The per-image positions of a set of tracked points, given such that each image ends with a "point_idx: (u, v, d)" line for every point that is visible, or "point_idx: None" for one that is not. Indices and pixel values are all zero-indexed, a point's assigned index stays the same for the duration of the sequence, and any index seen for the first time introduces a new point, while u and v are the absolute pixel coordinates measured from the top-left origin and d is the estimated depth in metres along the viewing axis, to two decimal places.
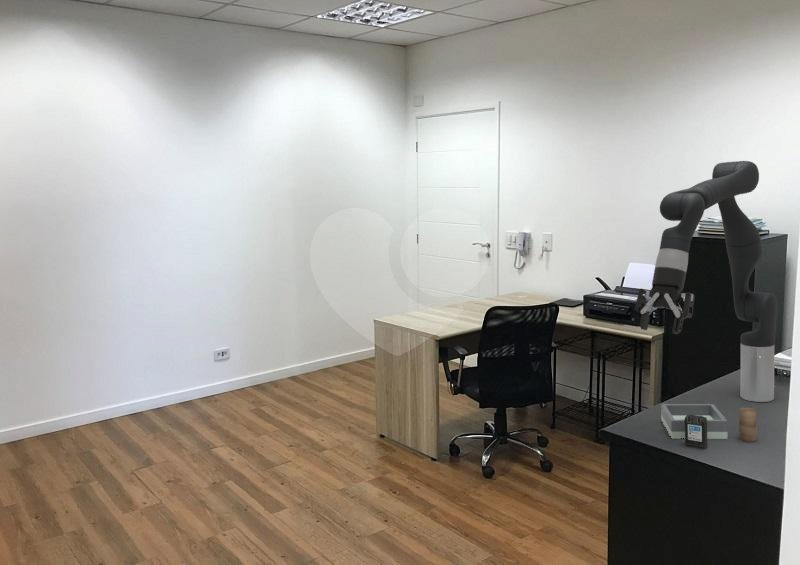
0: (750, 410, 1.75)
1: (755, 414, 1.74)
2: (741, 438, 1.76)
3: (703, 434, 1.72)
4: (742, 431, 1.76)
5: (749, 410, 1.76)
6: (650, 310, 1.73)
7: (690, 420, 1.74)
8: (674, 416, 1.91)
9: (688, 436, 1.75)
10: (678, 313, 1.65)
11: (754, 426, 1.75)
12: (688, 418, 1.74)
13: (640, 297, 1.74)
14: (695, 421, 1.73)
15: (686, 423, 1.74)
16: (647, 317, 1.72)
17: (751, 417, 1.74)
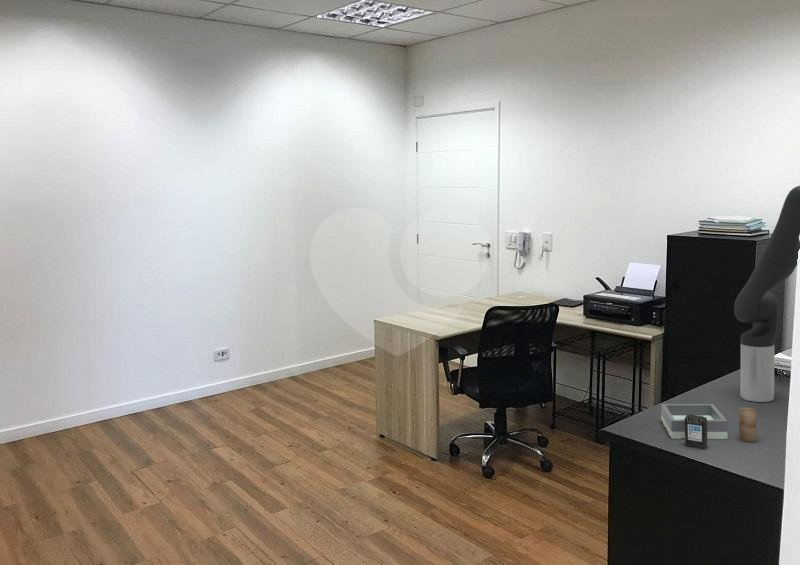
0: (750, 410, 1.75)
1: (755, 414, 1.74)
2: (741, 438, 1.76)
3: (703, 434, 1.72)
4: (742, 431, 1.76)
5: (749, 410, 1.76)
6: None
7: (690, 420, 1.74)
8: (674, 416, 1.91)
9: (688, 436, 1.75)
10: None
11: (754, 426, 1.75)
12: (688, 418, 1.74)
13: None
14: (695, 421, 1.73)
15: (686, 423, 1.74)
16: None
17: (751, 417, 1.74)
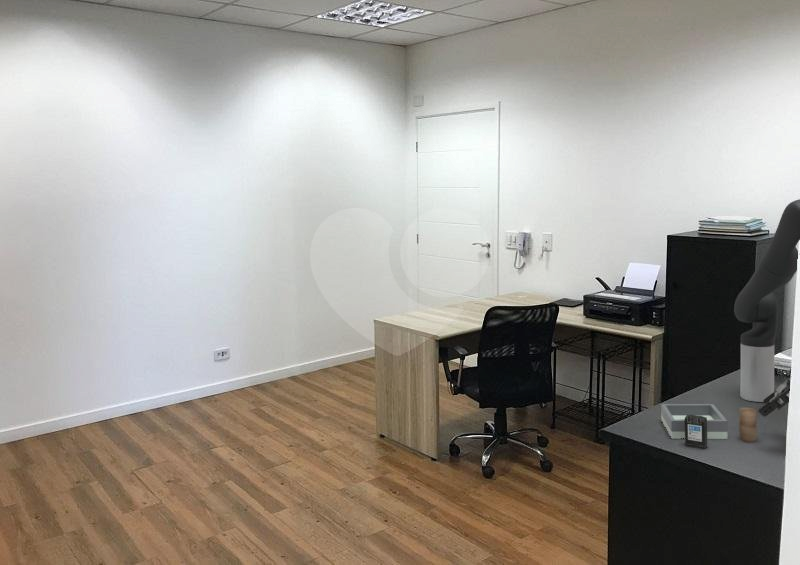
0: (750, 410, 1.75)
1: (755, 414, 1.74)
2: (741, 438, 1.76)
3: (703, 434, 1.72)
4: (742, 431, 1.76)
5: (749, 410, 1.76)
6: None
7: (690, 420, 1.74)
8: (674, 416, 1.91)
9: (688, 436, 1.75)
10: None
11: (754, 426, 1.75)
12: (688, 418, 1.74)
13: None
14: (695, 421, 1.73)
15: (686, 423, 1.74)
16: None
17: (751, 417, 1.74)
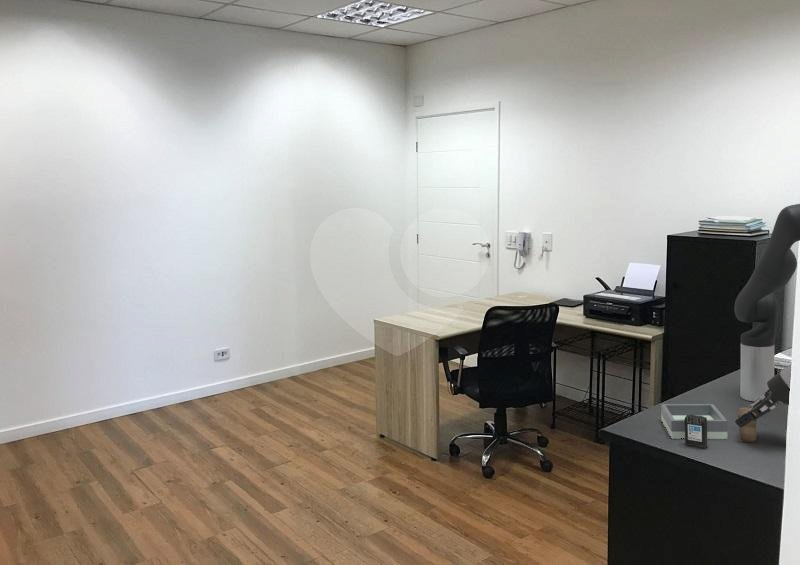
0: None
1: (755, 414, 1.74)
2: (741, 438, 1.76)
3: (703, 434, 1.72)
4: (742, 431, 1.76)
5: None
6: None
7: (689, 420, 1.74)
8: (674, 416, 1.91)
9: (688, 436, 1.75)
10: None
11: (754, 426, 1.75)
12: (688, 418, 1.74)
13: (764, 413, 1.69)
14: (695, 421, 1.73)
15: (686, 423, 1.74)
16: None
17: None
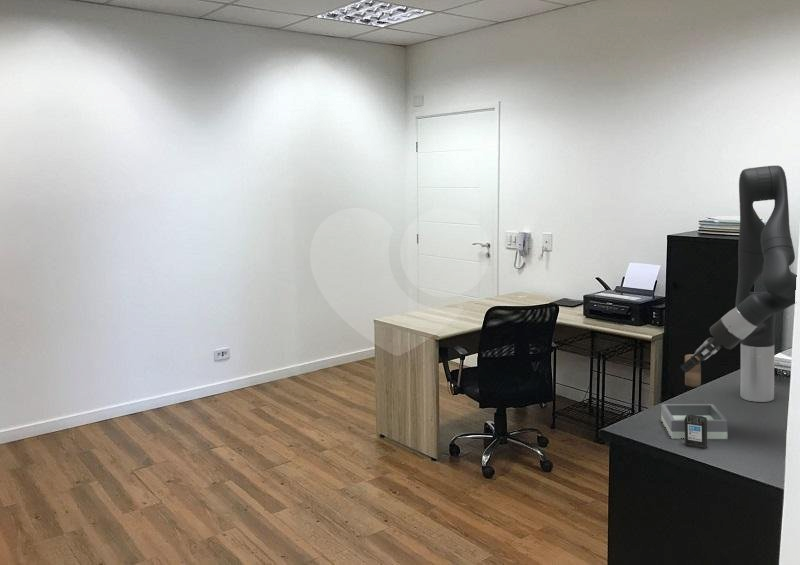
0: (695, 356, 1.83)
1: (699, 359, 1.82)
2: (686, 383, 1.84)
3: (703, 434, 1.72)
4: (687, 376, 1.83)
5: None
6: None
7: (690, 420, 1.74)
8: (674, 416, 1.91)
9: (688, 436, 1.75)
10: None
11: (698, 371, 1.82)
12: (688, 418, 1.74)
13: (706, 357, 1.76)
14: (695, 421, 1.73)
15: (686, 423, 1.74)
16: None
17: None
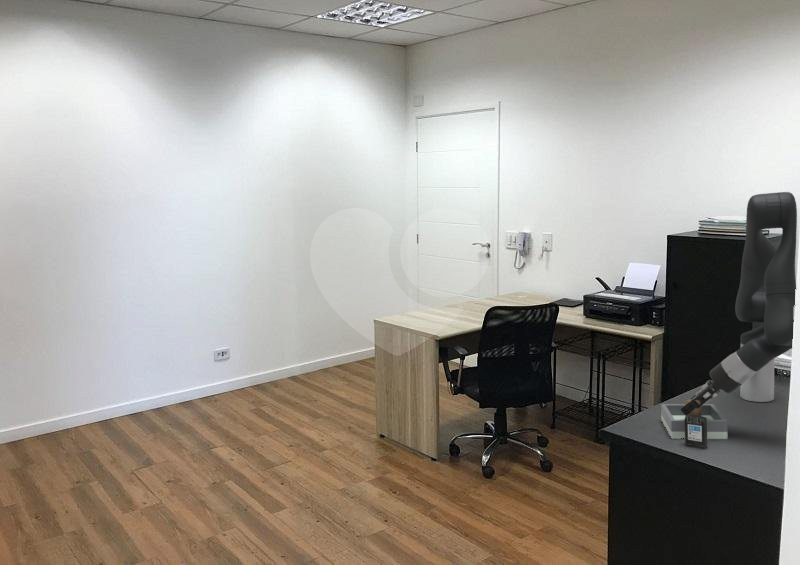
0: None
1: None
2: None
3: (703, 434, 1.72)
4: None
5: None
6: None
7: (690, 420, 1.74)
8: (674, 416, 1.91)
9: (688, 436, 1.75)
10: None
11: None
12: (688, 418, 1.74)
13: (706, 400, 1.77)
14: (695, 421, 1.73)
15: (686, 423, 1.74)
16: None
17: None
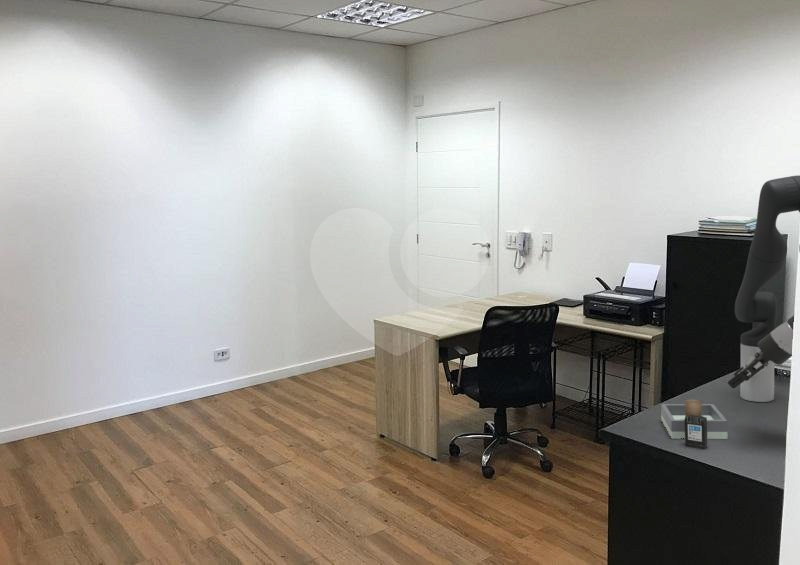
0: (695, 402, 1.84)
1: (699, 405, 1.83)
2: None
3: (703, 434, 1.72)
4: None
5: (694, 402, 1.85)
6: None
7: (689, 420, 1.74)
8: (674, 416, 1.91)
9: (688, 436, 1.75)
10: None
11: None
12: (688, 418, 1.74)
13: (757, 371, 1.69)
14: (695, 420, 1.73)
15: (686, 423, 1.74)
16: None
17: (696, 408, 1.83)
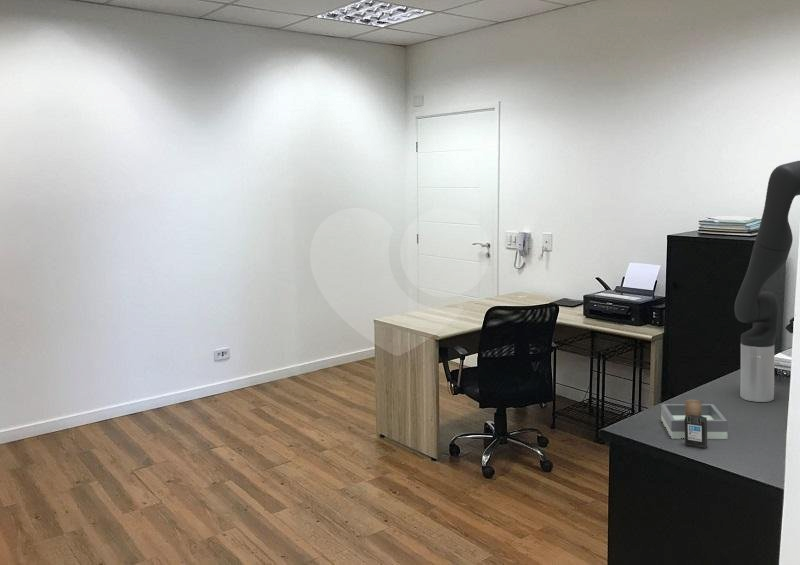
0: (695, 402, 1.84)
1: (699, 405, 1.83)
2: None
3: (703, 434, 1.72)
4: None
5: (694, 402, 1.85)
6: None
7: (689, 420, 1.74)
8: (674, 416, 1.91)
9: (688, 436, 1.75)
10: None
11: None
12: (688, 418, 1.74)
13: None
14: (695, 421, 1.73)
15: (686, 423, 1.74)
16: None
17: (696, 408, 1.83)
